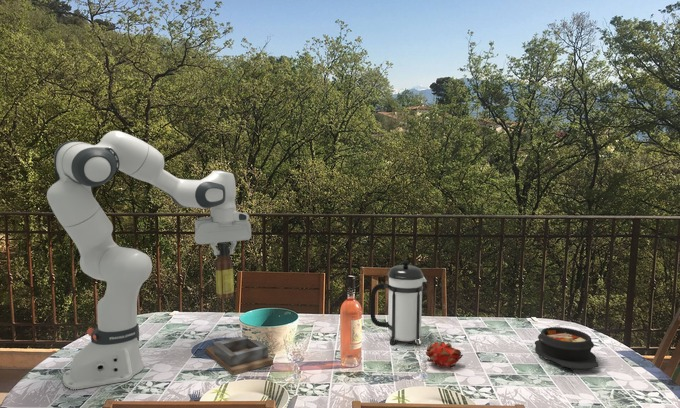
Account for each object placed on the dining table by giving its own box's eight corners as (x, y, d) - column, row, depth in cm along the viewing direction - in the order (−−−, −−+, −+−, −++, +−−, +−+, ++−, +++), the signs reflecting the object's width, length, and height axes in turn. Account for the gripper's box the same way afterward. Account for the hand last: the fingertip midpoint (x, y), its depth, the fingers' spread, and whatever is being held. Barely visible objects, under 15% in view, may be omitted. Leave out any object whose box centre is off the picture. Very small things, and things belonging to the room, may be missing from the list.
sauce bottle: (236, 294, 179) (236, 241, 177) (230, 299, 173) (230, 244, 171) (218, 294, 179) (218, 240, 177) (212, 298, 173) (212, 243, 171)
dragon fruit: (421, 368, 158) (458, 374, 158) (427, 362, 151) (466, 369, 150) (423, 342, 162) (459, 348, 162) (428, 335, 155) (466, 341, 155)
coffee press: (402, 329, 190) (403, 253, 187) (433, 341, 177) (435, 260, 175) (368, 339, 179) (369, 259, 177) (399, 352, 167) (400, 266, 164)
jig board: (232, 375, 149) (232, 359, 148) (205, 352, 166) (205, 338, 166) (273, 364, 157) (273, 349, 157) (243, 343, 175) (243, 329, 174)
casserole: (521, 345, 175) (522, 322, 174) (572, 344, 176) (573, 321, 175) (555, 375, 150) (556, 349, 149) (614, 374, 151) (615, 348, 150)
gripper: (198, 218, 164) (198, 259, 165) (253, 215, 177) (253, 252, 178) (191, 216, 169) (192, 256, 171) (245, 213, 182) (245, 250, 183)
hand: (223, 254), depth 174 cm, fingers closed on sauce bottle, 4 cm apart
